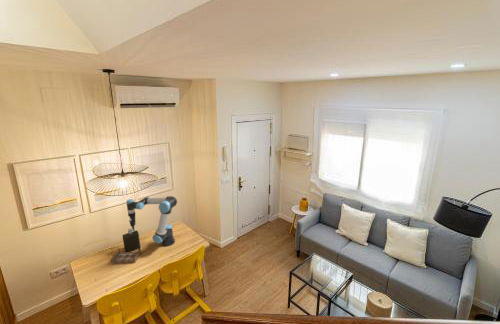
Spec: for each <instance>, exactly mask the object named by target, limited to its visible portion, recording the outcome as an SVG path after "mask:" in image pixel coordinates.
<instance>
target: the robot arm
mask: <svg viewBox="0 0 500 324" xmlns="http://www.w3.org/2000/svg"><path fill="white" fill-rule="evenodd" d="M177 203H178V199H177V198H176V197H175V196H171V195H170V196H166V197H165V196H162V197H151V196H146V197H144V198H142V199H140V200H139V201H134V199H133V198H129V199H126V203H125V204H126V208H127V209H126V211H127V216H128V217H129V220H128V221H129V224H130V227H131V229H132V232H133V231H136V225H137V224H136V210H143V208H144V207H145V206H146V205H158V209H159V212H160V214H159V215H160V217H159V220H158V226H157V228H156V229H155V232H154V234H153V235H152V241H153V242H154V243H156V244H161V245H162V247H163V246H164V247H170V246H172V245H174V244H175V243H176V239H175V237H174V234H173V233H174V231H173V225H172V224H170V223H168V221H169V216H170V214H171V213H172V210H173V208H174V207H176V206H177Z"/></svg>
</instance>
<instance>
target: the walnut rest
mask: <svg viewBox="0 0 500 324" xmlns="http://www.w3.org/2000/svg"><path fill="white" fill-rule="evenodd" d="M141 253H142V248H139V249H137V251H130V252H125V251H124V252H121V249H118V250H117V251H116V252H115V254H113V257H112V258H111V259H110V263H111V265H118V264H119V265H120V264H121V265H122V264H136V262H137V261H138V259H139V257H140V255H141Z"/></svg>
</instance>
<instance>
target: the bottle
mask: <svg viewBox="0 0 500 324" xmlns="http://www.w3.org/2000/svg"><path fill="white" fill-rule="evenodd" d="M127 232H128V233H124V234H122V242H123V247H124V248H123V249H124V252H134V251H136V250H139V249H141V240H140V233H139V231H138V230H135V231H133V230H132V228H129V229H128V230H127Z"/></svg>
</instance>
